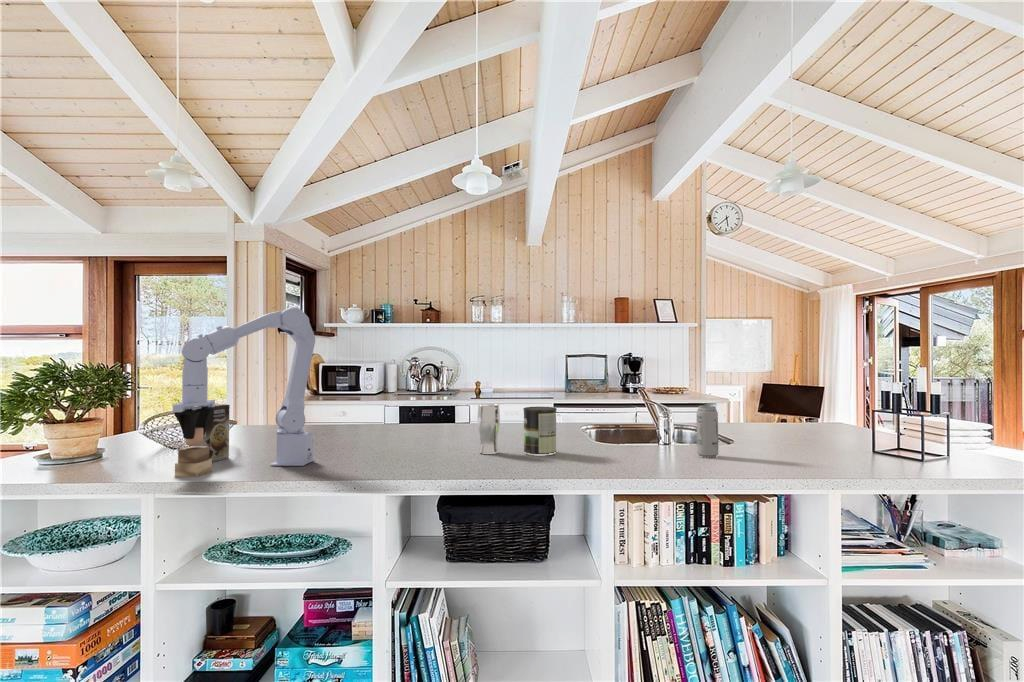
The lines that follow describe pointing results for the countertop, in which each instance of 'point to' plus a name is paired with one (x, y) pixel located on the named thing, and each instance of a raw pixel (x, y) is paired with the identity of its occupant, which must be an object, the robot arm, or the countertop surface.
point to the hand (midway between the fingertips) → (194, 437)
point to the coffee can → (539, 430)
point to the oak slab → (193, 468)
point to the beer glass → (488, 427)
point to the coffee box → (217, 433)
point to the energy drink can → (707, 431)
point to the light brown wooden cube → (196, 437)
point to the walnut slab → (193, 454)
